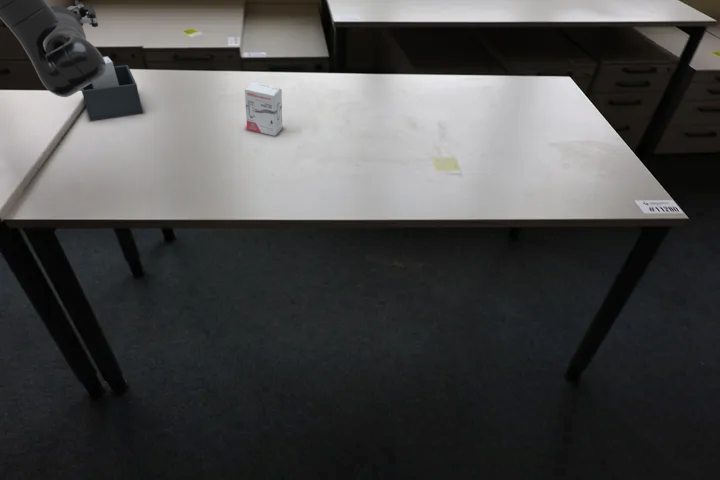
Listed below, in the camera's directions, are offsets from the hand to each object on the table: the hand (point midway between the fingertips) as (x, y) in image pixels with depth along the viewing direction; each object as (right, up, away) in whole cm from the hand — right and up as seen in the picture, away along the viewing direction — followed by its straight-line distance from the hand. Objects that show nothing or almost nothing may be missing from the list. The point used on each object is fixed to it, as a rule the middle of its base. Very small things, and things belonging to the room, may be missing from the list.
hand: (54, 6), depth 108 cm
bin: (-4, -12, +35) cm, 37 cm away
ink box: (+38, -19, +32) cm, 53 cm away
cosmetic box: (-5, -11, +34) cm, 36 cm away
